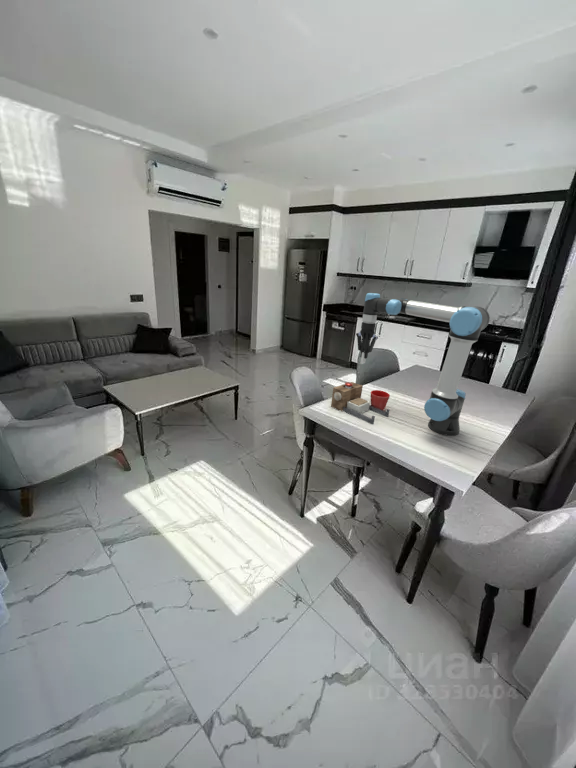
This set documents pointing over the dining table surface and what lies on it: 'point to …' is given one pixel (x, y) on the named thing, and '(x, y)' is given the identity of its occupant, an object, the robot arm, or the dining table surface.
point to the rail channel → (365, 418)
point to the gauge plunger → (348, 385)
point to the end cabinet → (345, 395)
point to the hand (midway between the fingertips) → (362, 363)
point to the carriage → (358, 405)
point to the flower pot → (379, 399)
